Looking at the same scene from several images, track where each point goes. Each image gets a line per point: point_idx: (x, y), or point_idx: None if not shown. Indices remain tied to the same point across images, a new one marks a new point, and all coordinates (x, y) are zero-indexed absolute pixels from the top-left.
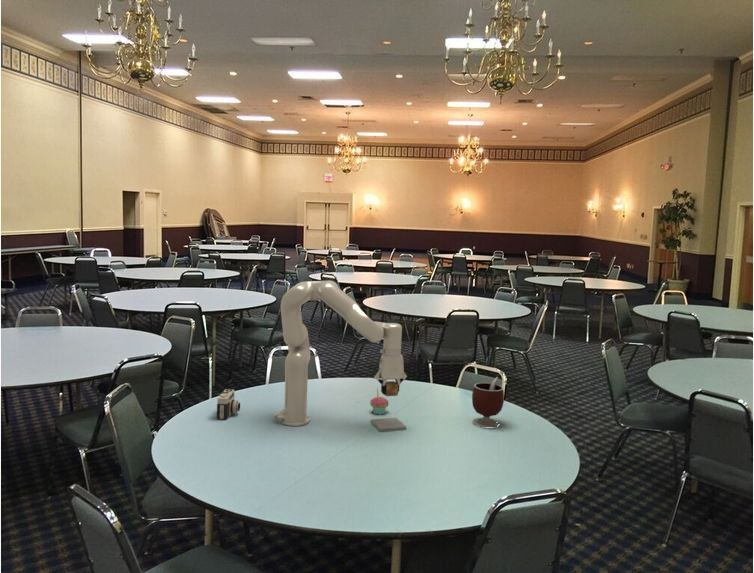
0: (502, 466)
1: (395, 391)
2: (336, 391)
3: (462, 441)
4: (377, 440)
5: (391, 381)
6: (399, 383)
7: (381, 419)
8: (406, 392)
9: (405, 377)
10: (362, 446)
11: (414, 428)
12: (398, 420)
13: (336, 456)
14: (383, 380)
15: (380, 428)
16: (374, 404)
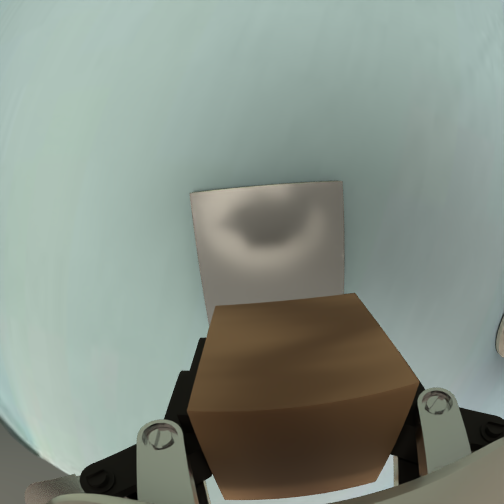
0: None
1: (242, 333)
2: (323, 501)
3: (37, 67)
4: (372, 81)
5: (263, 495)
6: (155, 437)
7: None
8: None
9: (48, 487)
10: (431, 52)
11: (149, 203)
12: (207, 290)
13: (487, 32)
14: (464, 449)
15: (338, 185)
16: None
